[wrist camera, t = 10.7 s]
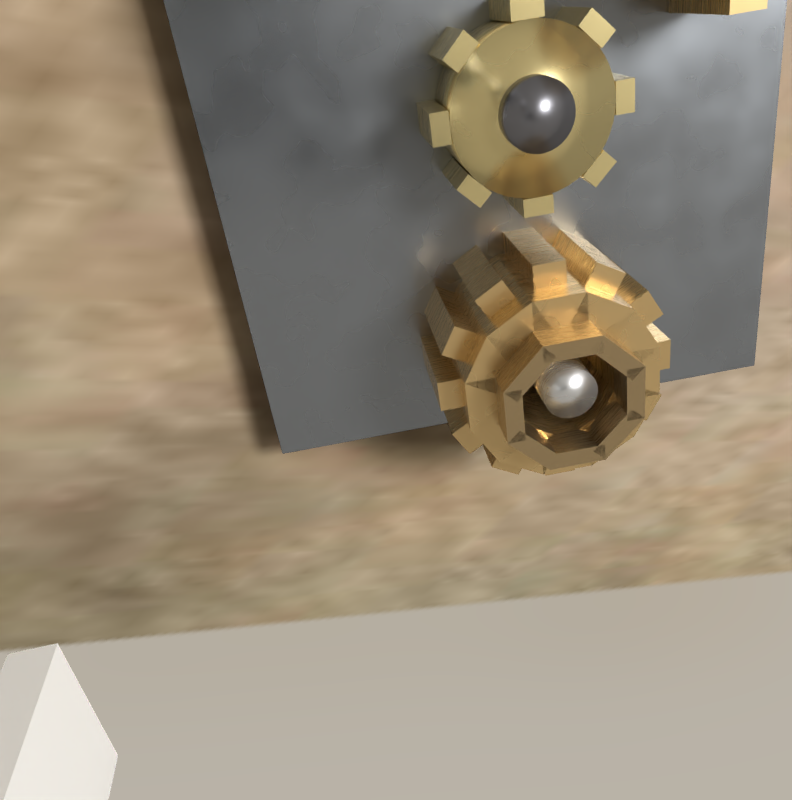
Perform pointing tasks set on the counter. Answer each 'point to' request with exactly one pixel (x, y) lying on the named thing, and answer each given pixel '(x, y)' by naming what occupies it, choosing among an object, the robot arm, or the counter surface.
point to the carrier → (476, 176)
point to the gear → (543, 351)
